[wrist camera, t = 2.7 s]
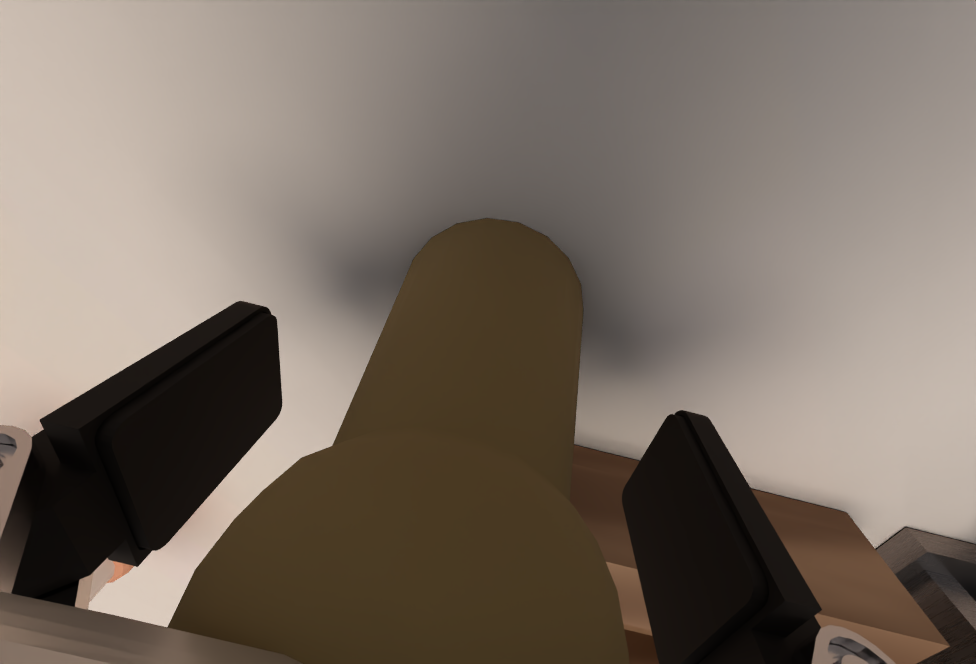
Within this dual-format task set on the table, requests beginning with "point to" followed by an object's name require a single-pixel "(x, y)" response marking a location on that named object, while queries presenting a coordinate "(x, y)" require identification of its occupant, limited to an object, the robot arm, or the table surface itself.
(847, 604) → the walnut holder
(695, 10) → the table surface
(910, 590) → the shaft bracket
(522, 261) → the olive brown pear shape
